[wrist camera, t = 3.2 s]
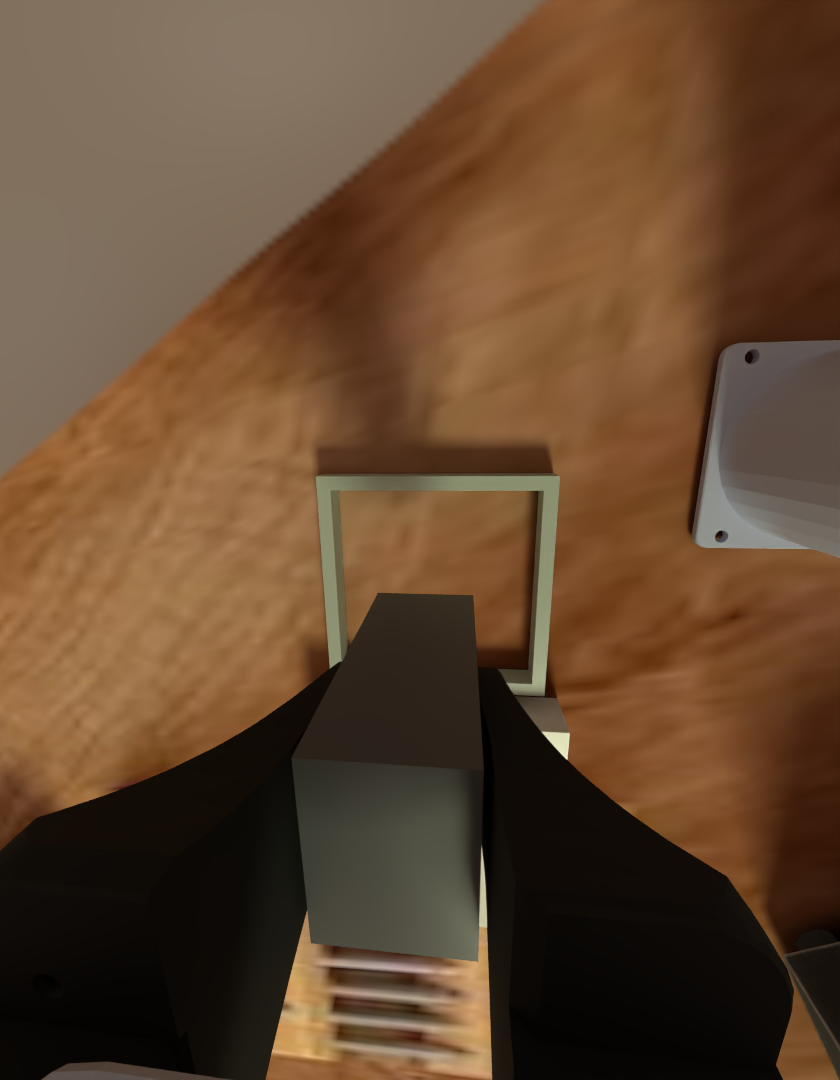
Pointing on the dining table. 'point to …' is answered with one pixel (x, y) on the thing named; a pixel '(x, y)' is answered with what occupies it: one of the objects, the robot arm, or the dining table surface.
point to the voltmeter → (819, 985)
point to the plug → (397, 785)
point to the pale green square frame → (545, 483)
